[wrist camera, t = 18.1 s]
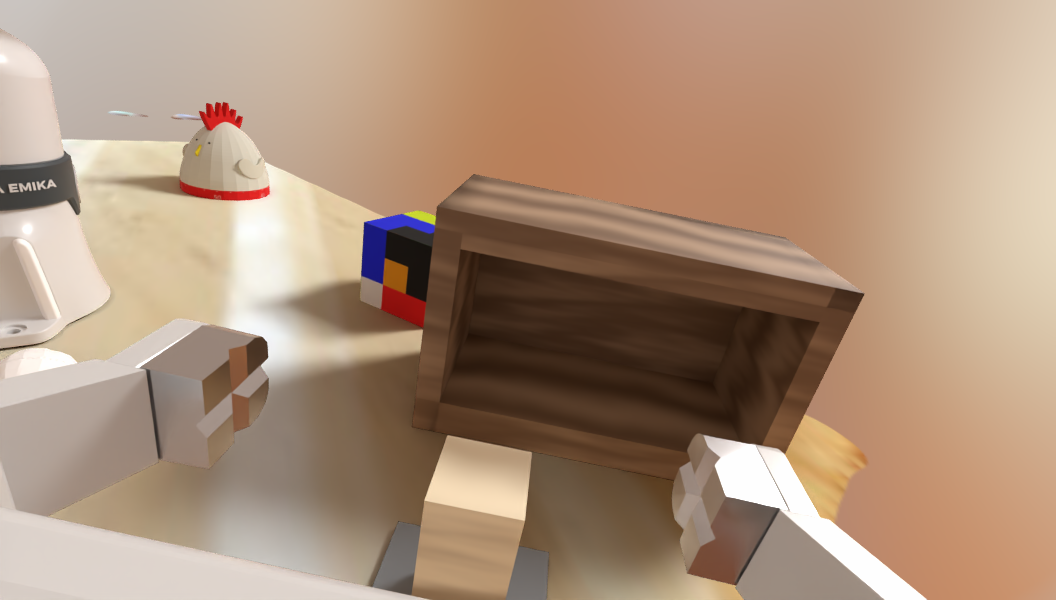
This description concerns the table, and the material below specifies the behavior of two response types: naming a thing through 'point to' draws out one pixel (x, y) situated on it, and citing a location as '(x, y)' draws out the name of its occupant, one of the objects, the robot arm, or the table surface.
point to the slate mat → (401, 555)
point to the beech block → (472, 521)
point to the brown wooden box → (618, 328)
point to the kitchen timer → (223, 160)
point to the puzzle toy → (398, 264)
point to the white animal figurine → (32, 362)
